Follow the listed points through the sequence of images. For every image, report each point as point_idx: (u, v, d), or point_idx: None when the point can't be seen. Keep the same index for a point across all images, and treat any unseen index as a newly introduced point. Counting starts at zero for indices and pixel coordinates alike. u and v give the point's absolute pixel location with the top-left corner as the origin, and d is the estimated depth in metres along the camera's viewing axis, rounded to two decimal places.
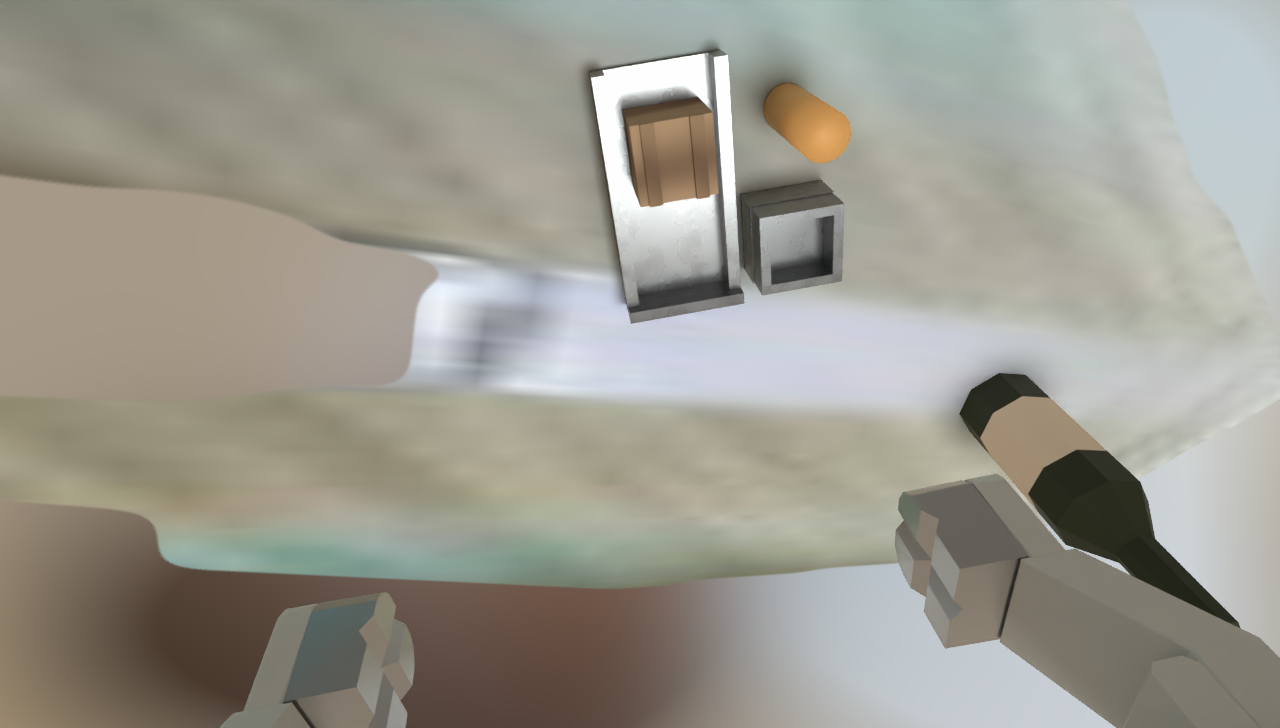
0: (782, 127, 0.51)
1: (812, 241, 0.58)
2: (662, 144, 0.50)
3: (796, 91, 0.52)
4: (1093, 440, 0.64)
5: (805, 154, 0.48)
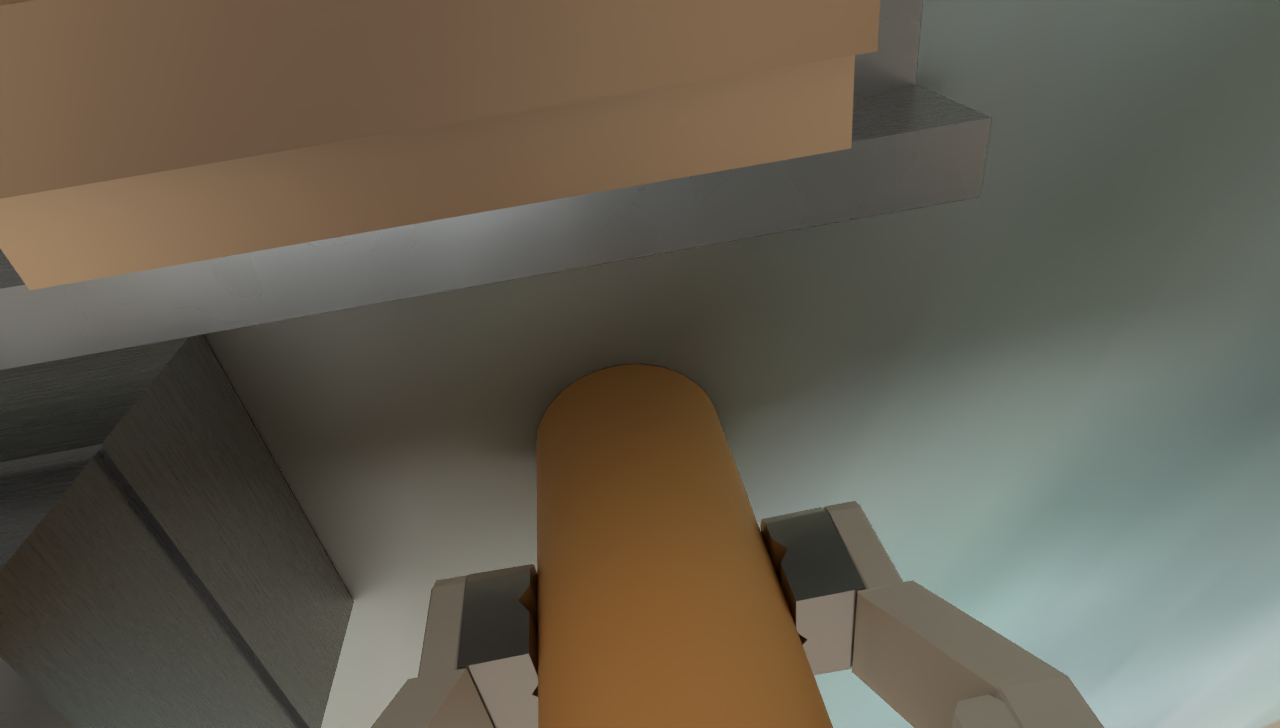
0: (651, 589, 0.08)
1: None
2: None
3: None
4: None
5: None
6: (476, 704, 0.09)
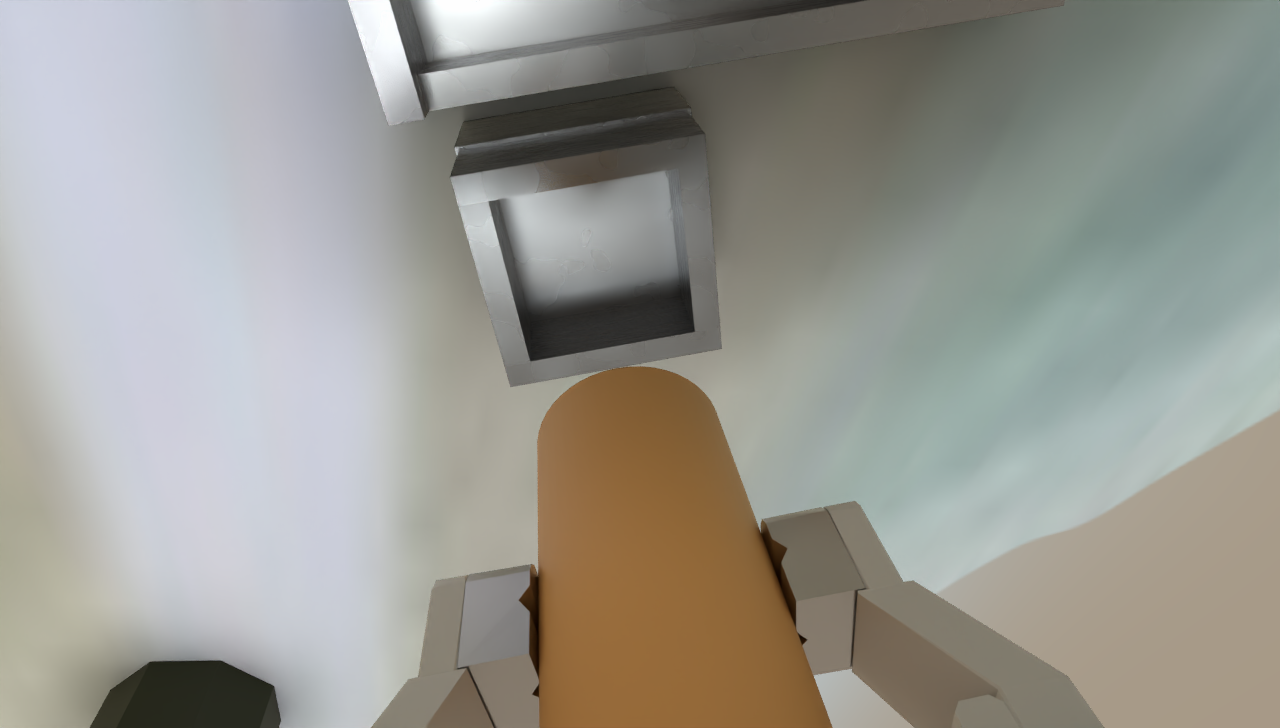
0: (652, 592, 0.08)
1: (586, 288, 0.23)
2: None
3: None
4: None
5: None
6: (476, 704, 0.09)
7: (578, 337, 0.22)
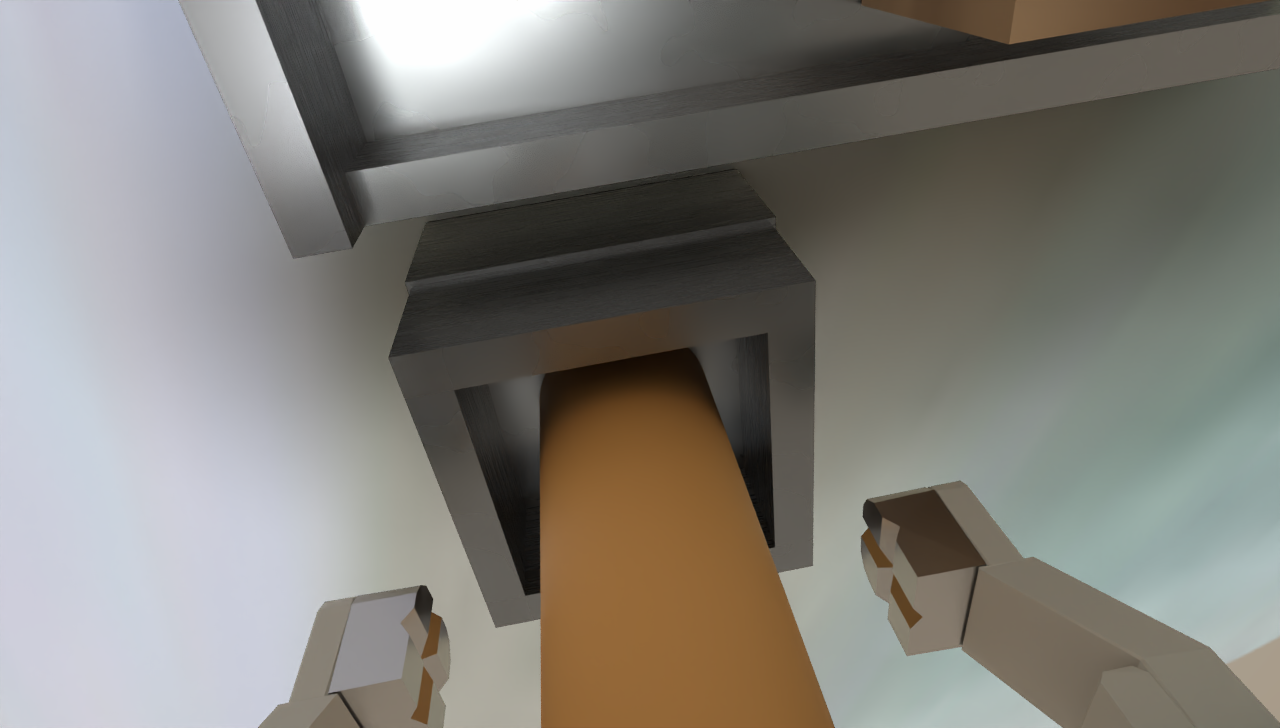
0: (639, 505, 0.10)
1: None
2: None
3: None
4: None
5: None
6: None
7: None
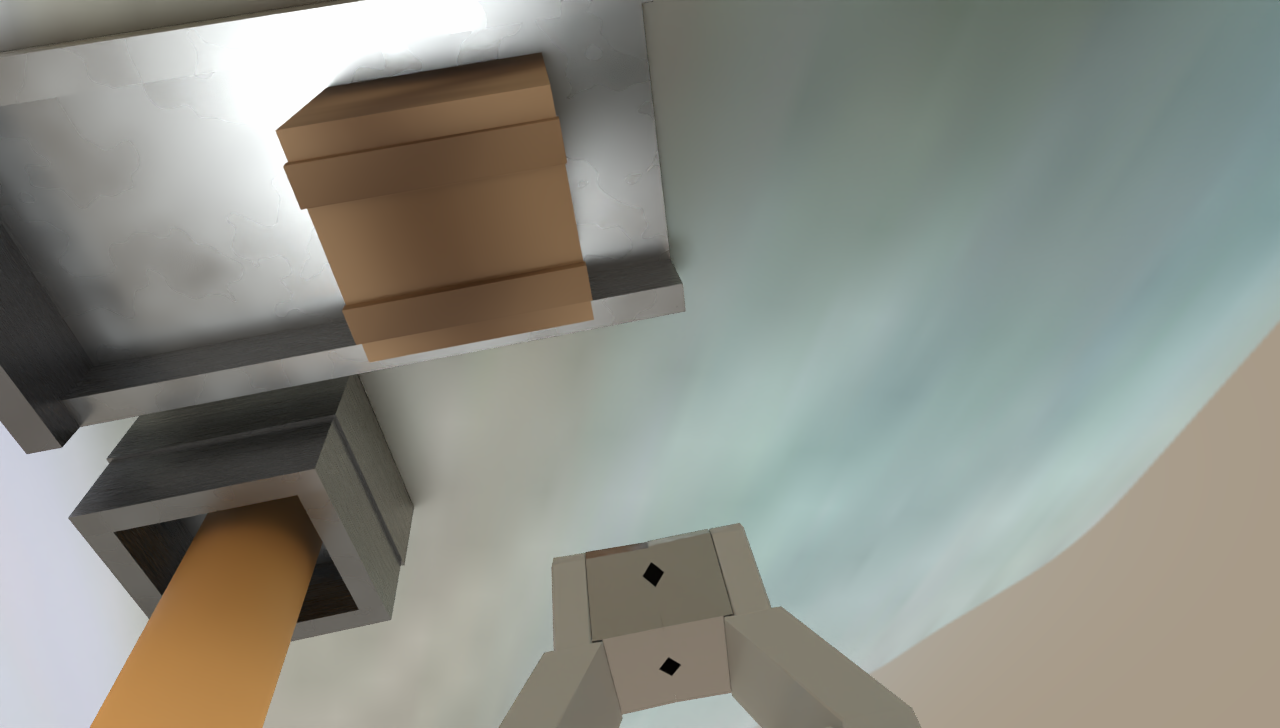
0: (183, 600, 0.18)
1: None
2: (498, 193, 0.16)
3: (301, 570, 0.21)
4: None
5: None
6: (607, 678, 0.09)
7: None
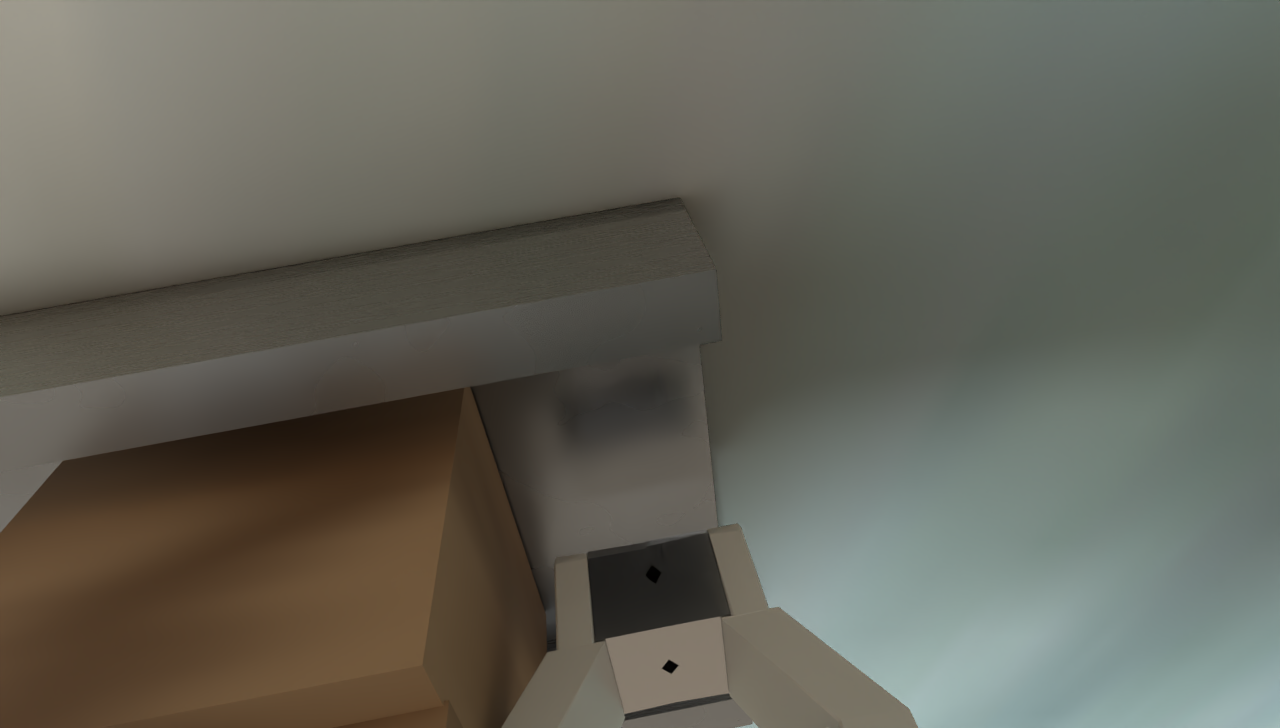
0: None
1: None
2: None
3: None
4: None
5: None
6: (610, 677, 0.09)
7: None
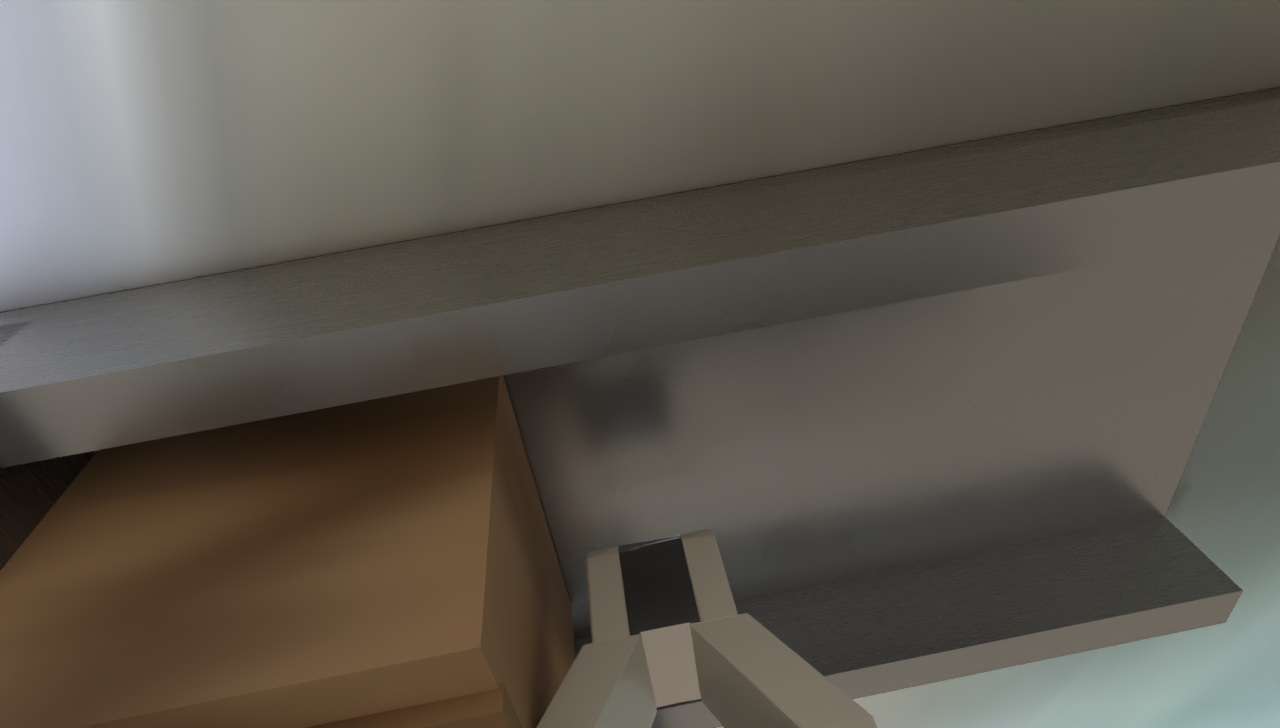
0: None
1: None
2: None
3: None
4: None
5: None
6: (644, 671, 0.09)
7: None
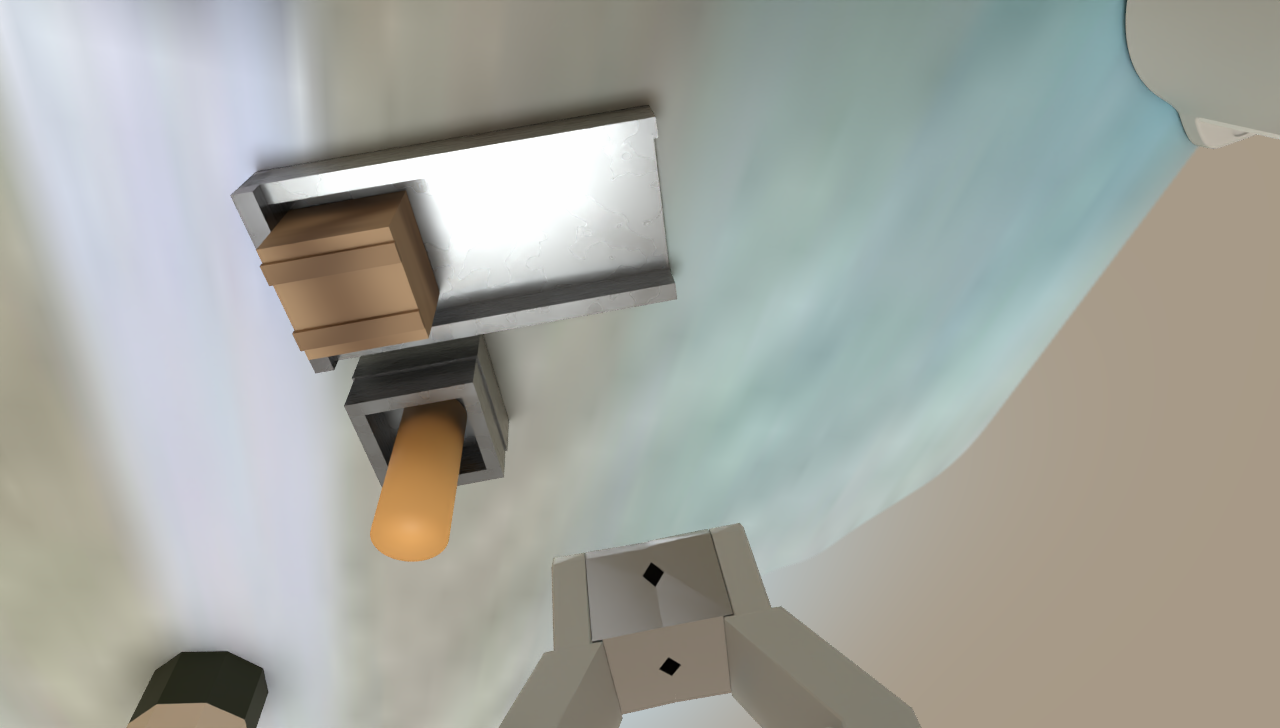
0: (404, 454, 0.35)
1: None
2: (368, 276, 0.33)
3: (457, 440, 0.38)
4: None
5: (375, 523, 0.32)
6: (607, 678, 0.09)
7: None
